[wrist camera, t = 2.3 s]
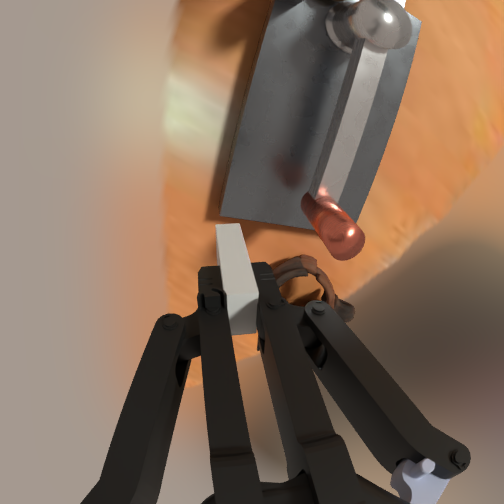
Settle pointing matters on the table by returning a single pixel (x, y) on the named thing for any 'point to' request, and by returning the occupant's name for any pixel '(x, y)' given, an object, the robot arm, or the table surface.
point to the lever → (352, 115)
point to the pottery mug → (309, 265)
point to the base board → (304, 115)
